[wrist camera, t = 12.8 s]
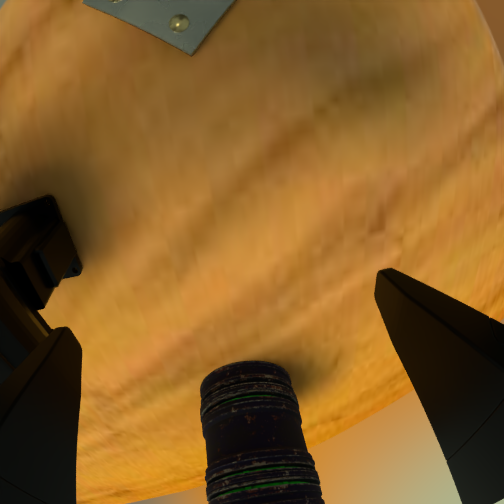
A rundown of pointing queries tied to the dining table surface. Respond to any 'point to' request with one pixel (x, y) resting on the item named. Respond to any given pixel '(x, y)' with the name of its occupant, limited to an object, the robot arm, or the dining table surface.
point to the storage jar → (255, 438)
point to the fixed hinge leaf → (168, 18)
